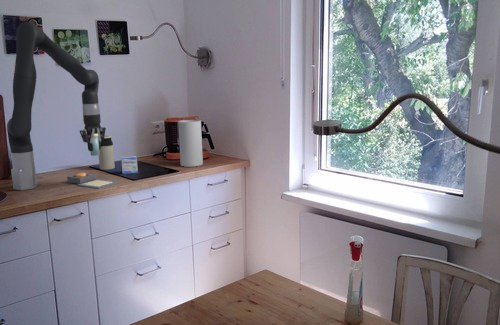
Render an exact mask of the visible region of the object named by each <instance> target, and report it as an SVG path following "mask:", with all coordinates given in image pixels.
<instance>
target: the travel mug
mask: <svg viewBox="0 0 500 325" xmlns="http://www.w3.org/2000/svg"><path fill="white" fill-rule="evenodd" d="M101 137H102V136H101ZM99 153H100V155H98V164H99V169H100V170H102V171H111V170H114V169H115V167H116V166H115V164H116V163H115V153H114V142H113V140H112V135H105V136H104V140H101V149H100V150H99Z"/></svg>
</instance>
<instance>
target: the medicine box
mask: <svg viewBox="0 0 500 325" xmlns="http://www.w3.org/2000/svg"><path fill="white" fill-rule="evenodd" d="M120 158H121V171H122V173H121V174H122V175H127V174H128V175H129V174H131V175H132V174H139V171H138V157H137V155H134V156H121V157H120Z"/></svg>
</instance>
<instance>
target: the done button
mask: <svg viewBox="0 0 500 325" xmlns="http://www.w3.org/2000/svg"><path fill="white" fill-rule="evenodd" d="M86 174H87V172H77V173H75V174H74V175H75V176H76V177H84V176H86Z"/></svg>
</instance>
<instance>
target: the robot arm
mask: <svg viewBox="0 0 500 325" xmlns="http://www.w3.org/2000/svg"><path fill="white" fill-rule="evenodd" d="M35 47H36V48H37V49H39V50H41V51H42V52H43V53H45V54H46V55H48V56H49V57H50V58H51V59H52V60H53V61H54V62H55V63H56V64H57V65H58V66H59V67H60V68H62V69H63V70H65V72H67V73H69V74H70V75H71V77H73V79H74V80H76V81H77V82H78V83H79V84H81V85H83V86H84V89H83V91H82V93H81V103H82V107H81V108H82V110H81V111H82V118H83V125H84V128H83V129H81V130H79V135H80V137H81V139H82V141H83V143H85V144H87V150H88V152H90V151H93V143H92V139H93V137H94V134H98V142H99V150H100V149H101V140H104V136H106V129H107V128H106V127H105V126H103V127H102V126H101V121H102V120H101V110H100V104H99V95H98V93H99V85H100V84H99V83H100V78H99V75H98V72H96V71H95V70H94V69H87V68H85V67H84V66H83V65H82V63H81V62H80V60H78V59H77V58H76V57H75V56H73V55H72V54H71V53H69V52H68V51H66V50H65V49H63V48H62V47H61V46H60V45H58V44H57V43H56V42H54V40H52V39H51V38H50V37H49V36H48V35H47V34H46V33H45V32H44V30H42V28H41V27H40V26H38V25H36V24H33V22H29V21H23V22H21V23H20V24H19V25H18V27H17V30H16V54H15V63H14V73H13V80H12V98H13V99H12V100H13V110H12V114H11V118H10V119H9V120H8V122H7V124H6V130H7V139H8V144H9V149H10V154H11V155H10V157H11V163H12V168H11V169H10V172H11V179H12V186H13V190H17V191H25V190H26V191H27V190H32V189H35V188H37V187H38V182H37V181H38V180H37V173H36V172H37V171H36V164H35V163H36V162H35V155H34V148H33V142H32V138H31V131H32V110H33V109H32V108H33V103H34V98H35V91H36V86H37V84H36V83H37V70H36V69H37V68H36V63H35V60H34V51H35ZM89 135H91V136H89ZM101 136H102V137H101ZM89 138H90V140H89Z"/></svg>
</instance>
